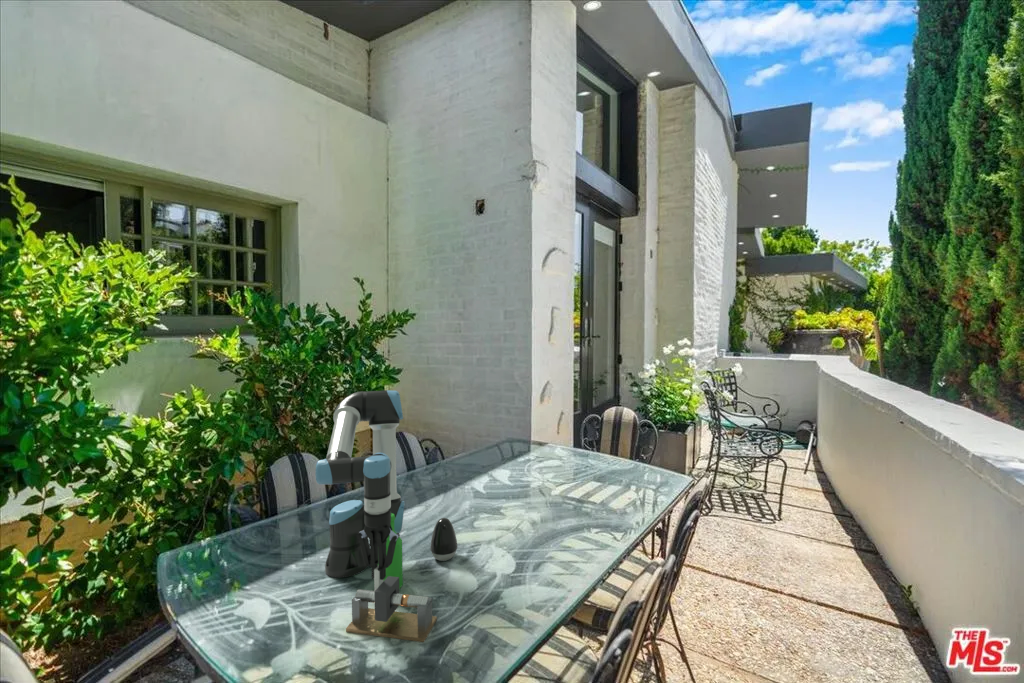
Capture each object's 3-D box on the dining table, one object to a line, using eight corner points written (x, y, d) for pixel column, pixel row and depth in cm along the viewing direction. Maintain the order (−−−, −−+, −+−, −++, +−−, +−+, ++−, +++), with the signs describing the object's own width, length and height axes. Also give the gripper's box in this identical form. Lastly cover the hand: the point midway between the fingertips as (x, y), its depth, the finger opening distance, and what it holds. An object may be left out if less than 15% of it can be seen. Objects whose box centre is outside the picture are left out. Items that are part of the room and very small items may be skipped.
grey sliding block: (374, 620, 129) (374, 591, 129) (388, 603, 138) (388, 576, 137) (386, 622, 129) (386, 592, 128) (399, 604, 137) (399, 577, 137)
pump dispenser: (432, 566, 166) (431, 525, 166) (429, 553, 176) (428, 514, 176) (459, 562, 169) (458, 522, 169) (455, 549, 179) (454, 511, 179)
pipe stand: (345, 631, 130) (345, 599, 130) (364, 610, 140) (363, 580, 140) (423, 642, 125) (423, 608, 125) (436, 619, 135) (436, 588, 135)
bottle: (405, 580, 157) (404, 509, 156) (399, 595, 148) (398, 519, 148) (379, 581, 157) (378, 510, 156) (372, 596, 148) (371, 520, 147)
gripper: (350, 513, 131) (352, 594, 131) (392, 516, 128) (393, 599, 128) (364, 503, 138) (365, 580, 138) (403, 506, 135) (405, 584, 136)
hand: (379, 589), depth 133 cm, fingers closed
